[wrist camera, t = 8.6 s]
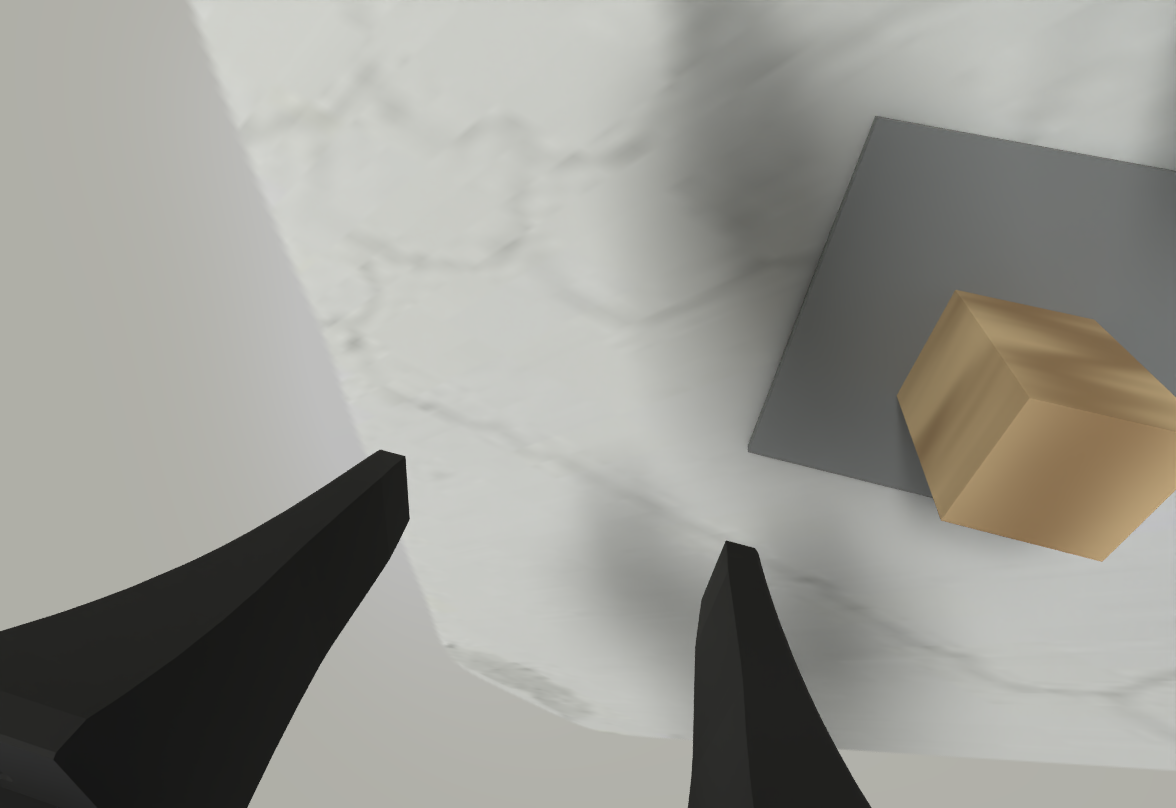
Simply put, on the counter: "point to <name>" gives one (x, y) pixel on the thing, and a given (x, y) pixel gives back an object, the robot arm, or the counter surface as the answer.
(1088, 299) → the mat
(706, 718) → the robot arm
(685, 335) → the counter surface
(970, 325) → the oak block
